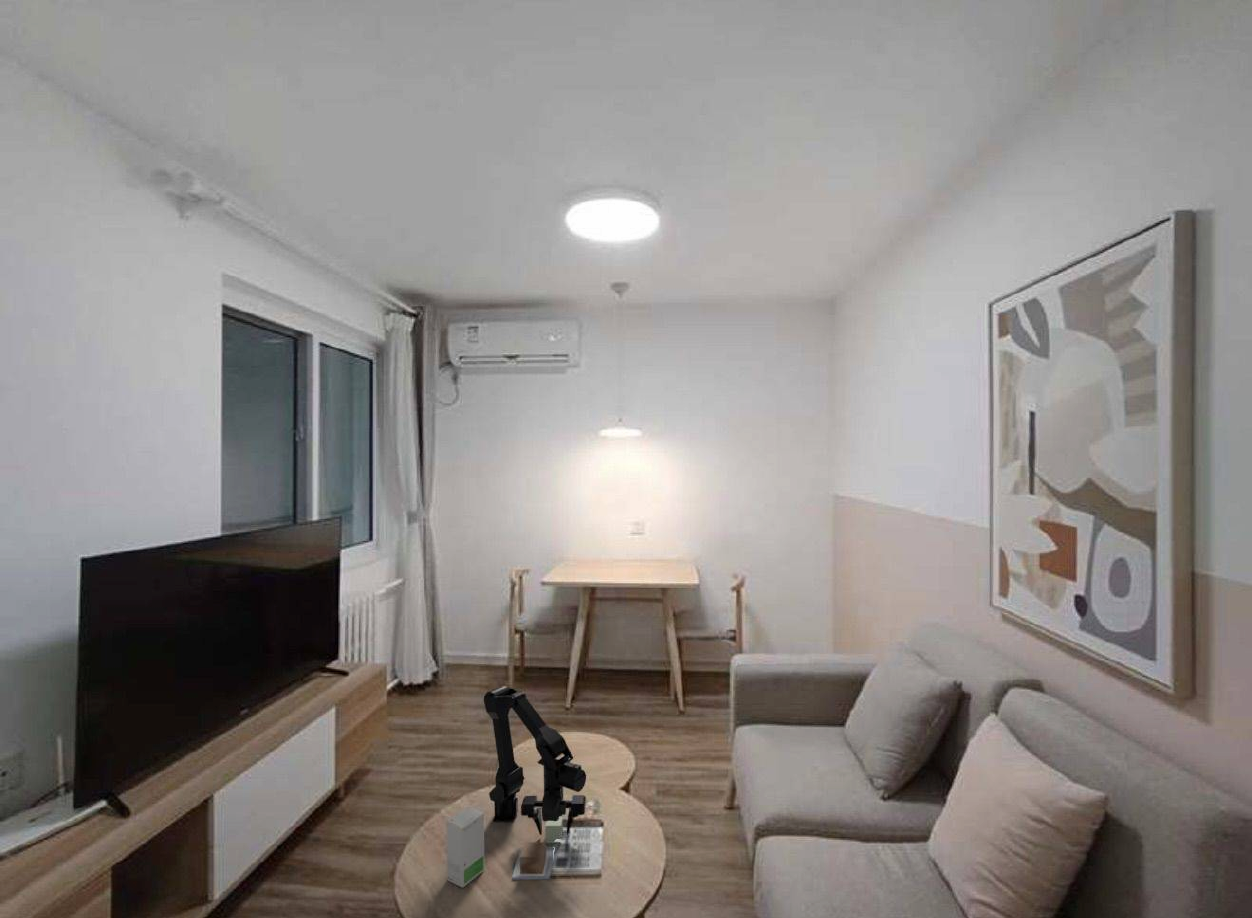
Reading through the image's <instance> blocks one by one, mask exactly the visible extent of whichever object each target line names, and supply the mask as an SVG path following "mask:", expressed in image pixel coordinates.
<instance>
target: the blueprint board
mask: <svg viewBox="0 0 1252 918" xmlns="http://www.w3.org/2000/svg"><path fill="white" fill-rule="evenodd" d="M553 847H554V846H546V861H545V865H544V869H543V874H520V855H521V852H522V849H523V846H520V848H519V852H518V856H517V858H516V859H517V860H516V862H515V866H514V870H513V873H512V876H511V880H515V881H516V880H550V877H551V875H552V869H553V868H552V867H553V864H552V863H554V859H553V850H554V848H553ZM551 868H552V869H551Z"/></svg>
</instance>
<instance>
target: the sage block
mask: <svg viewBox="0 0 1252 918" xmlns="http://www.w3.org/2000/svg"><path fill="white" fill-rule="evenodd" d="M562 832H563V833H564V815H562V816H559V820H558V821H545V832H544V833H545V836H544V837H545V841H544V842H546V844H553V842H554V841H555V840H556V839H561V837H562V838H563V836H562Z"/></svg>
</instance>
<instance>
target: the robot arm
mask: <svg viewBox="0 0 1252 918" xmlns="http://www.w3.org/2000/svg"><path fill="white" fill-rule="evenodd" d="M483 703H484V708H485V711H486V713H487V715H488V716H489V717H490V718H491V720H492V725H493V733H494V734H493V735H494V741H495V747H496V754H497V762H498V768H497V771H496V775H495V777H494V778H495V781H494V782H495V786H494V787H493V788H492V789H491V790H490V791H489V793H488V796H489V799H490V801H492V802H493V803H494V804H493V805H494V816H493V819H492V820H493V821H492V822H514V821H515V818H516V816H517V814H518V813H519V798H518V797H517V793H520V792H521V788H522V787H523V785H524V780H525V776H524V768H523V767H522V766H519V765H518V763H517V762H516V761H515V753H514V747H513V739H512V734H511V726H510V718H509V714H510V710H511V709H512V711H514V713H515V715H517V717H518V718H519V719H520V721H521V722H522V723H523V725H524V726H525V728H526V729H527V730H528V731H529V733H530V734H531V735H532V737H533V739H534V740H535V741H534V742H535V749H536V750H537V753H539V756H540V757H541V758H540V759H539V760H538V761H537V764H539V765H541V766H543V796H542V800H538V796H537V795H525V796H524V797H523V799H522V802H521V805H520V816H522V817H524V816H525V817H526V816H527V817H528V818H530V819H532V820H533V821H534V823H535V825H536V829H537V832H538V833H539V835H540V836H542V834H543V822H546V821H558V820H559V816H565V815H566V813H567V809H568V814H567V825H566V835H569V834H570V829H571V826H572V824H573V820H574V819H575V818H577V817H579V816H584V815H585V814H586V813H585V812H586V807H587V797H586V796H585V795H584V794H572V796H571V797H572V798H571V799H570V800H565V799H564V788H566V789H569V790H571V791H574V792H575V793H578V792H581V791H582V790H583V789H584V788H585V787H584V786H585V785H586V782H587V781H586V780H587V774H586V771H585V770H584V769H582V765H581V764H576V763H573V762H571V761H572V760H574V756H573V754H572V752H571V750H570V749H569V748H570V747H569V746H568V744H567V742H566V740H565V738H564V737H563V736H562V734H561V733H559V732H558V731H557V729H554V728H552V727H549V726H548V725H547V723H546V722H545V721H544V720H543V718H542V717H541V716H540V714H539V713H538V712H537V710H536V709H535V707H534V706H533V705H532V704H531V702H530V701H529V700H528V699H527V695H526V693H525V691H521V690H517V689H516V688H512V687H508V686H506V685H500V686H498V687H496V688H493V689H492V690H489V691H487V692H486V693H485V695H484V696H483ZM562 755H563V756H562ZM560 756H562V757H560ZM559 757H560V758H559ZM558 758H559V759H558ZM542 821H543V822H542Z"/></svg>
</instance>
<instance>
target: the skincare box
mask: <svg viewBox="0 0 1252 918" xmlns="http://www.w3.org/2000/svg"><path fill="white" fill-rule="evenodd" d="M484 818H485V816H484V812H483V811H480V810H478V809H475V808H472V807H470V806H468V807H466V808H464V809H463V810H461V811H459V812H457V813H455V814H454V815H453V816H452V817H450V818H448V819H447V820H446V822H445V824H446V880H447V881H448V882H450V883H452V884H453V885H456V886H458V887H460V888H464V887H466V886H467V885H468V884H469V883H471V882H472V881H473V880H474V879H475V878H477V877H478V876H480V875H481V874H482V873H483V872H484V871H485V819H484Z"/></svg>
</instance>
